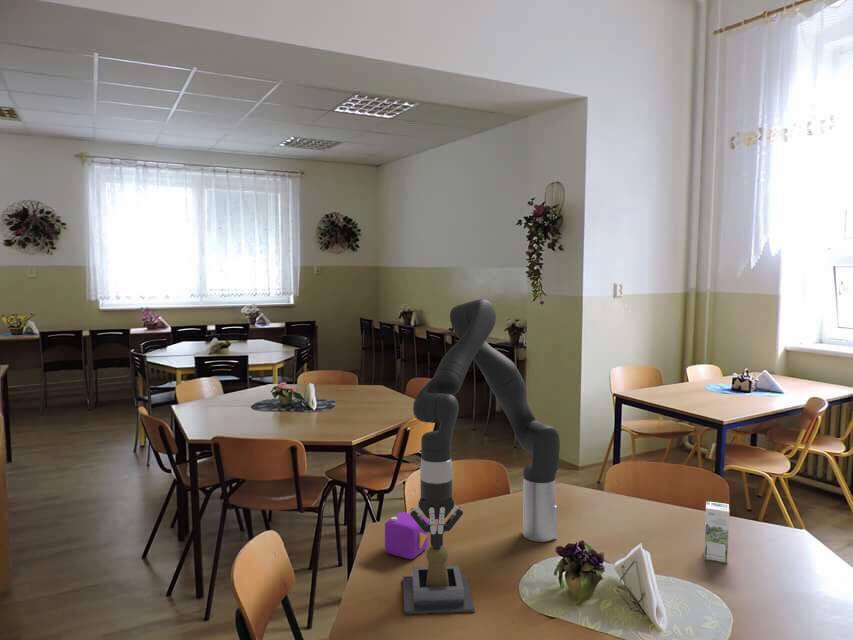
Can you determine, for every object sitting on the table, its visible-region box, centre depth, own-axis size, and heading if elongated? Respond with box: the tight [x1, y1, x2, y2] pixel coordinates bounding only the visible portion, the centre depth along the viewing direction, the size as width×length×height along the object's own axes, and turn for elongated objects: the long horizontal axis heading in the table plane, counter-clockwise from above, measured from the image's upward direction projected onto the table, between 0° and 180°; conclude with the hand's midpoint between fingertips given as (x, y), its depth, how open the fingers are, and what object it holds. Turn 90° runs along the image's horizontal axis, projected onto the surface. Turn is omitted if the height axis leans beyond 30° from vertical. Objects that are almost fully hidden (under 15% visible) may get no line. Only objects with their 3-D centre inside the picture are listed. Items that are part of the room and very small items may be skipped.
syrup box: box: [703, 500, 730, 564], centre depth 168 cm, size 6×6×14 cm
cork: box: [426, 545, 449, 587], centre depth 150 cm, size 6×6×11 cm
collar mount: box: [402, 565, 476, 616], centre depth 150 cm, size 16×16×4 cm
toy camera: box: [384, 511, 430, 560], centre depth 174 cm, size 11×14×10 cm
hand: (436, 547), depth 149 cm, fingers closed
